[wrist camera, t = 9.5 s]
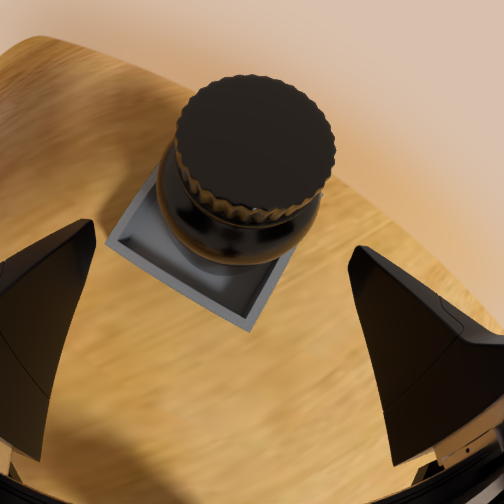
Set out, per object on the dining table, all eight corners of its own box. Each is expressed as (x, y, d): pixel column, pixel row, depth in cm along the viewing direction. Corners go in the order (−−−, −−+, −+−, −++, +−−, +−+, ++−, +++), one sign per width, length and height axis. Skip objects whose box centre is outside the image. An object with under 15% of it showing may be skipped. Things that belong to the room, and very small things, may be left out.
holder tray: (310, 205, 21) (323, 194, 19) (243, 328, 19) (249, 332, 16) (194, 137, 20) (194, 119, 18) (115, 250, 18) (104, 244, 16)
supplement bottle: (165, 189, 19) (135, 64, 7) (260, 173, 20) (324, 53, 9) (184, 288, 18) (157, 275, 6) (283, 266, 20) (395, 223, 8)
